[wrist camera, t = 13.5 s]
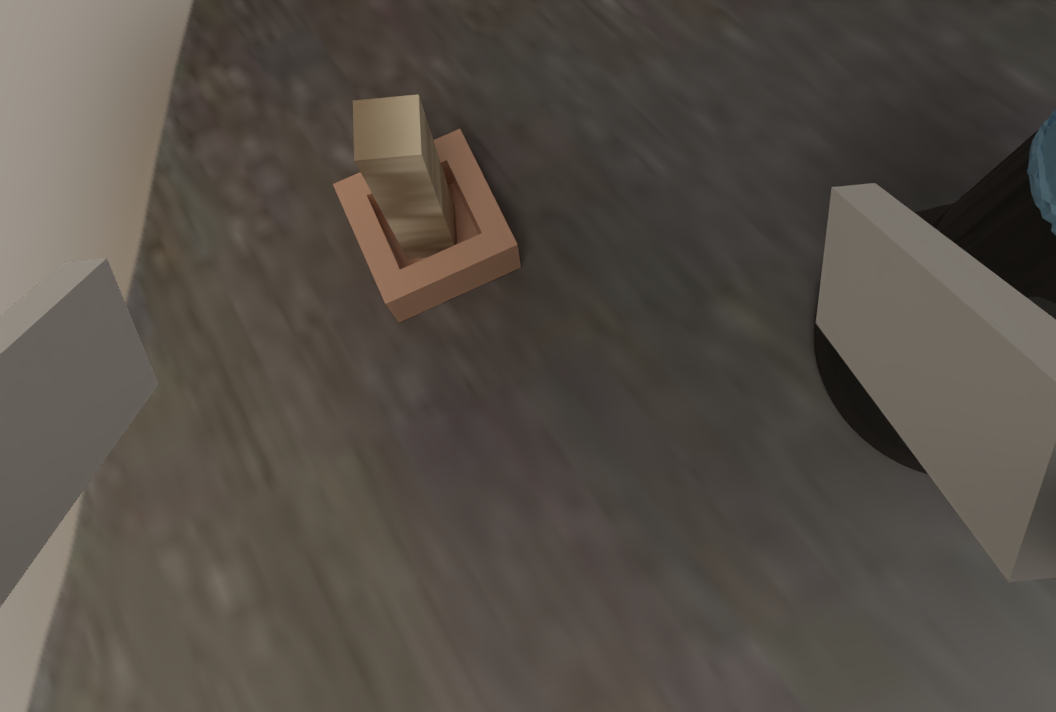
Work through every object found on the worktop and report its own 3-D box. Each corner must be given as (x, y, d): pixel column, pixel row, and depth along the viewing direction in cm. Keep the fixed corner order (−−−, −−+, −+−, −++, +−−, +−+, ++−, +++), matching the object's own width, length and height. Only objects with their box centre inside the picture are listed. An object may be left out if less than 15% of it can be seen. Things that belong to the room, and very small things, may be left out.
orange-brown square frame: (467, 159, 48) (460, 128, 44) (521, 267, 46) (517, 244, 42) (349, 210, 47) (333, 184, 44) (398, 322, 45) (385, 304, 42)
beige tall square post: (455, 208, 46) (418, 94, 34) (457, 254, 45) (421, 154, 34) (405, 212, 46) (352, 100, 34) (407, 259, 45) (354, 160, 34)
